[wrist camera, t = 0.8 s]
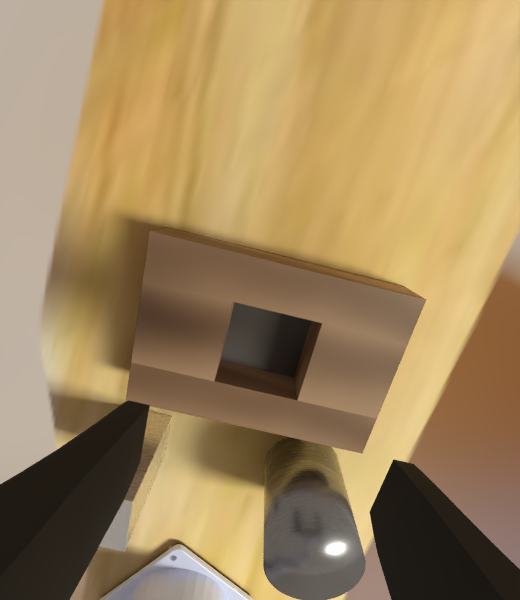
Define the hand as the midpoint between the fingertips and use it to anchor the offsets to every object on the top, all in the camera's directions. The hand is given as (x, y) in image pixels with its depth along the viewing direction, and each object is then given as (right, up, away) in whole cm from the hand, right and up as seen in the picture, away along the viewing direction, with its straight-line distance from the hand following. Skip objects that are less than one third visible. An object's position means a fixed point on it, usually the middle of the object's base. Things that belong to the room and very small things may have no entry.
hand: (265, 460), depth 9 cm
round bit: (+3, -6, +12) cm, 14 cm away
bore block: (0, +3, +9) cm, 9 cm away
